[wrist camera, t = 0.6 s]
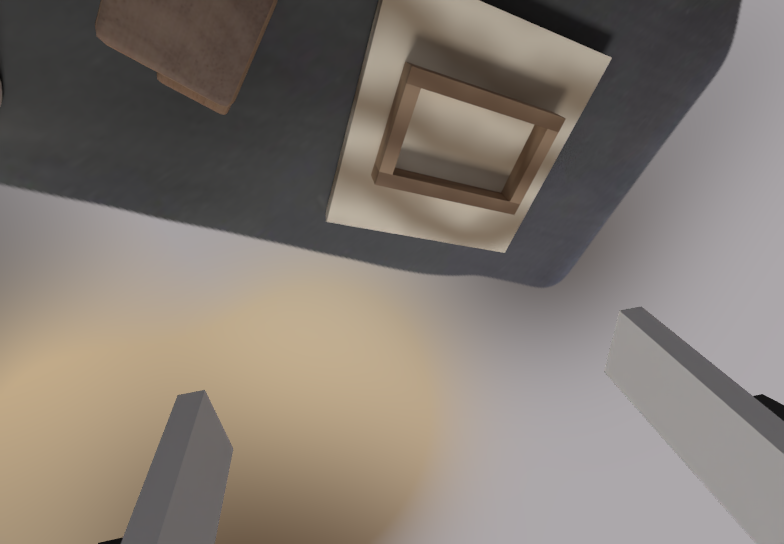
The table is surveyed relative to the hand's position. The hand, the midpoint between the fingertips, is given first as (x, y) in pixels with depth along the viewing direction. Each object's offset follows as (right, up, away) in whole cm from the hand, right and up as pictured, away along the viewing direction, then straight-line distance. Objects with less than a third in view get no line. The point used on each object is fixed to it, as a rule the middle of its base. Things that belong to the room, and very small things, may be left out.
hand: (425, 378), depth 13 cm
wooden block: (-13, +21, +15) cm, 29 cm away
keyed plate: (+5, +16, +23) cm, 29 cm away
